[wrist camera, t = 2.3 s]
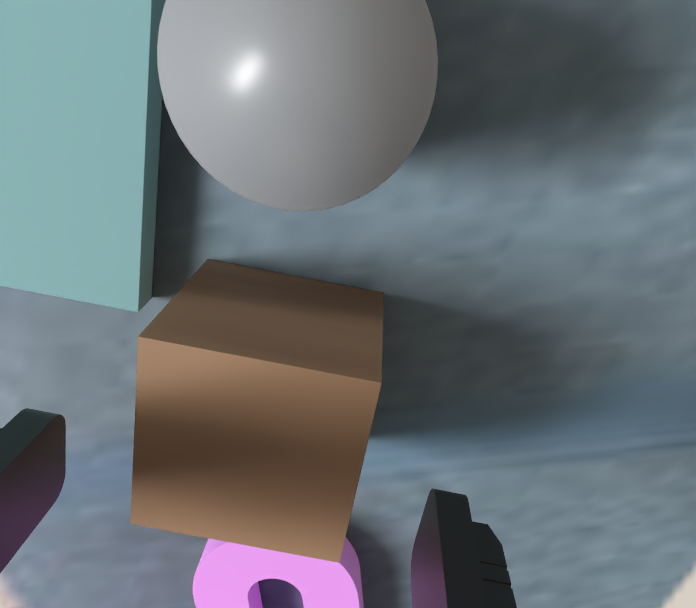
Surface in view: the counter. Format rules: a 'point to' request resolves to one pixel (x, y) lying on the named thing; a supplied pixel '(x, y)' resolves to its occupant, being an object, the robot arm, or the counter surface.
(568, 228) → the counter surface
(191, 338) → the walnut block
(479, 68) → the counter surface
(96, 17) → the teal mat
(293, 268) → the counter surface
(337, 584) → the bracket
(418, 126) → the grey rounded part
